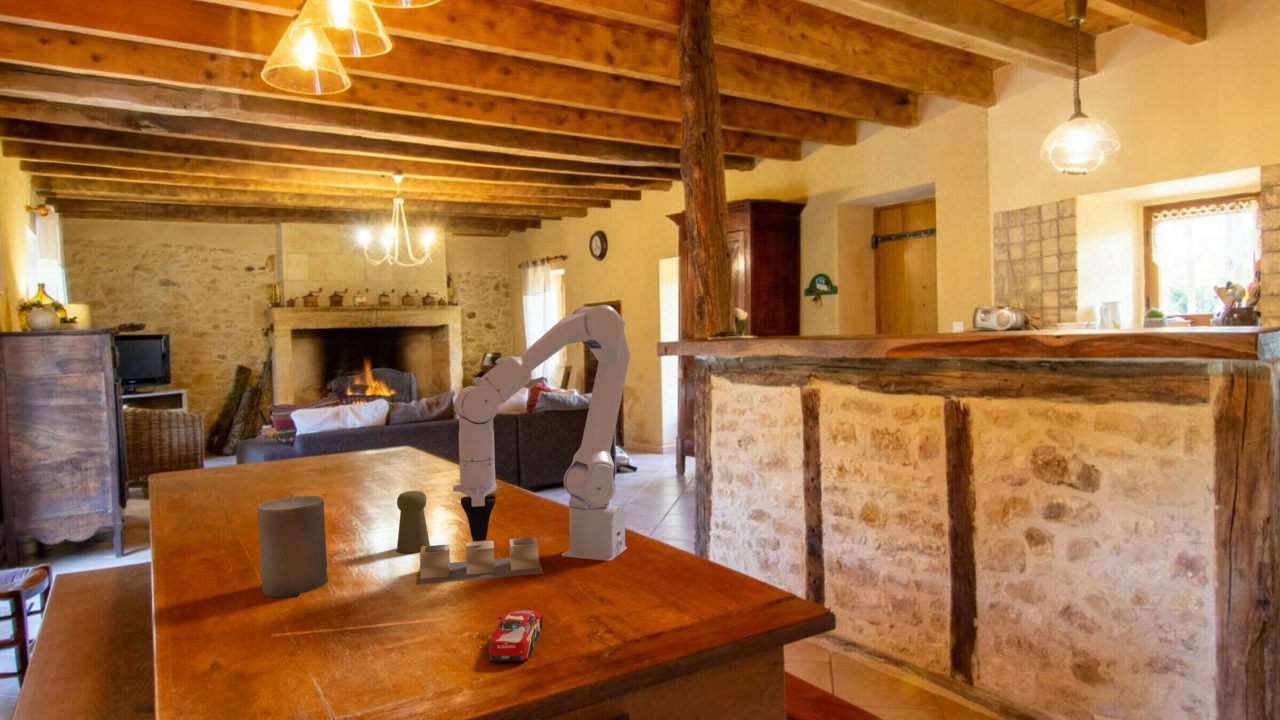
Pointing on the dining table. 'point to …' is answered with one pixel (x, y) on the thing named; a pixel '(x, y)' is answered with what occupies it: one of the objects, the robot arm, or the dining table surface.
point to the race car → (515, 636)
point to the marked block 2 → (524, 553)
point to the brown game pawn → (412, 522)
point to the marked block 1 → (435, 561)
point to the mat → (460, 573)
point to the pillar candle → (292, 545)
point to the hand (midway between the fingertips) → (479, 540)
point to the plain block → (480, 557)
